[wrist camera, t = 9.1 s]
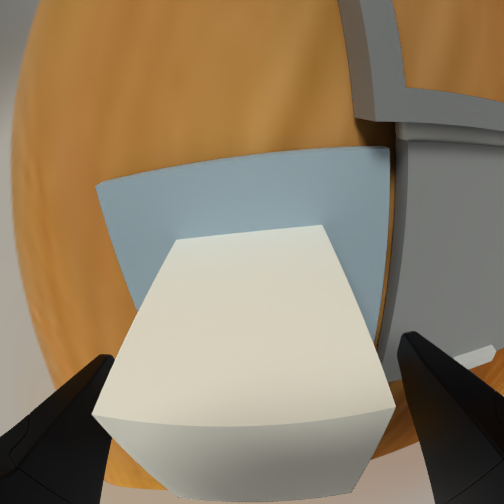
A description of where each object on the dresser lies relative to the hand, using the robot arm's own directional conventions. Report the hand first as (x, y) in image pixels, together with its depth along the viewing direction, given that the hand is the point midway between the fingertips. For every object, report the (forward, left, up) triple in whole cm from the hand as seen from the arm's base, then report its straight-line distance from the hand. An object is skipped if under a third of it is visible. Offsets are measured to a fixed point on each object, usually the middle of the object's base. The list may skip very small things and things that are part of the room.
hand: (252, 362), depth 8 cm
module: (0, 0, -3) cm, 3 cm away
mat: (0, 0, -4) cm, 4 cm away
